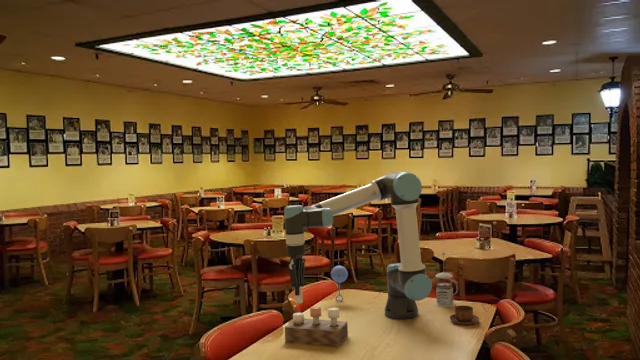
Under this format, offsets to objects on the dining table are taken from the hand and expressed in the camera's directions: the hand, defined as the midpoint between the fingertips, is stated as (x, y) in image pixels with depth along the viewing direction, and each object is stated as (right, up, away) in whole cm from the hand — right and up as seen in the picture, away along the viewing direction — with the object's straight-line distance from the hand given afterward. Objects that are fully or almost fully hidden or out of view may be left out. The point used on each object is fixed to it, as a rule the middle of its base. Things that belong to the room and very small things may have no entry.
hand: (299, 302), depth 196 cm
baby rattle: (+19, -13, +52) cm, 57 cm away
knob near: (+14, -8, -5) cm, 17 cm away
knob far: (0, -12, 0) cm, 12 cm away
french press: (+69, -11, +38) cm, 80 cm away
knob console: (+7, -14, -2) cm, 16 cm away
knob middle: (+7, -9, -3) cm, 11 cm away
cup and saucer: (+70, -12, +12) cm, 72 cm away
